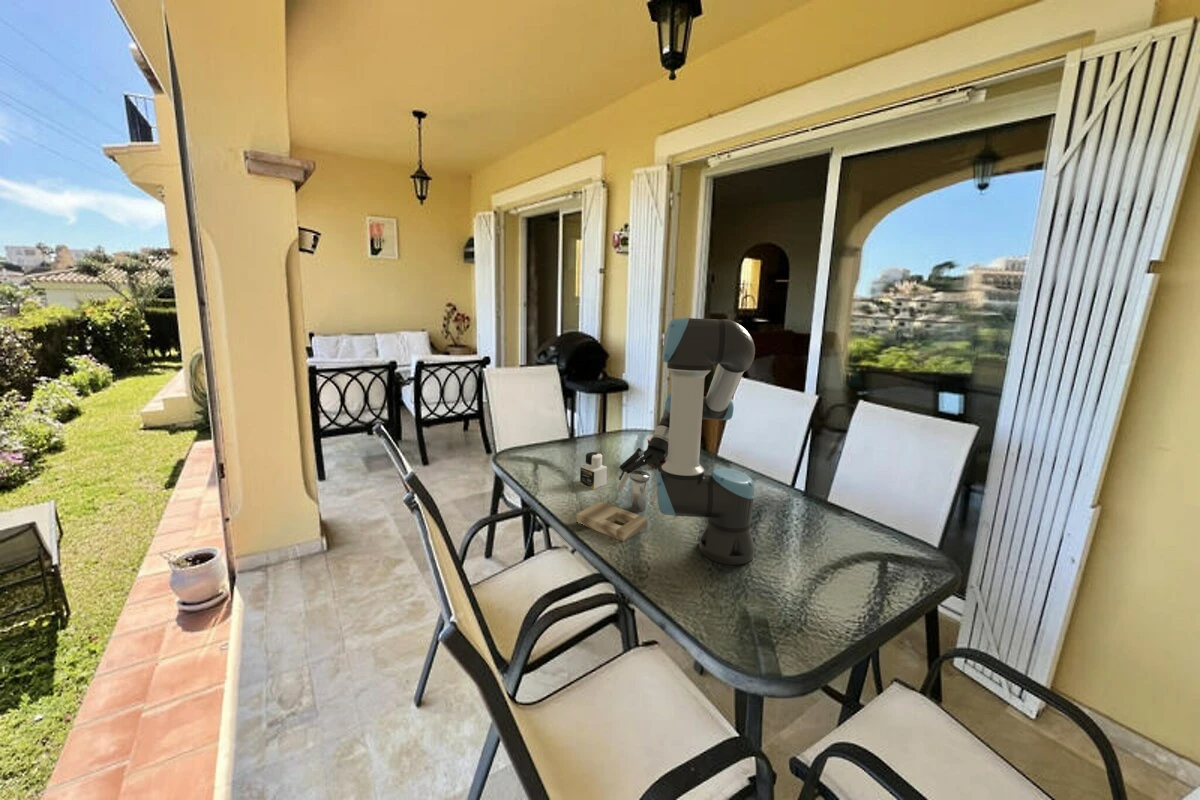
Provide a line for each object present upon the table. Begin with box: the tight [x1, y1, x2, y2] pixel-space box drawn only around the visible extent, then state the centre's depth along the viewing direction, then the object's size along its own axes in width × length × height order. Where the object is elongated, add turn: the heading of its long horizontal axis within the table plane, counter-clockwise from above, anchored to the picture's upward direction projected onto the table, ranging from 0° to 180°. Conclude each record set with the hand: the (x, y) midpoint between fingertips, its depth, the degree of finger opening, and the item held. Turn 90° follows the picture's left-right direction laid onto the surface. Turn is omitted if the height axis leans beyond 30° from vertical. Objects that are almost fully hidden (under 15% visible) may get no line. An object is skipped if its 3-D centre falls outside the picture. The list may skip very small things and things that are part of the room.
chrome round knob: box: [629, 470, 651, 513], centre depth 165 cm, size 6×6×12 cm
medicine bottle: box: [579, 451, 608, 490], centre depth 184 cm, size 7×7×12 cm
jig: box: [576, 501, 648, 543], centre depth 154 cm, size 18×12×3 cm, turn 52°
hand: (635, 496), depth 164 cm, fingers open, 13 cm apart
